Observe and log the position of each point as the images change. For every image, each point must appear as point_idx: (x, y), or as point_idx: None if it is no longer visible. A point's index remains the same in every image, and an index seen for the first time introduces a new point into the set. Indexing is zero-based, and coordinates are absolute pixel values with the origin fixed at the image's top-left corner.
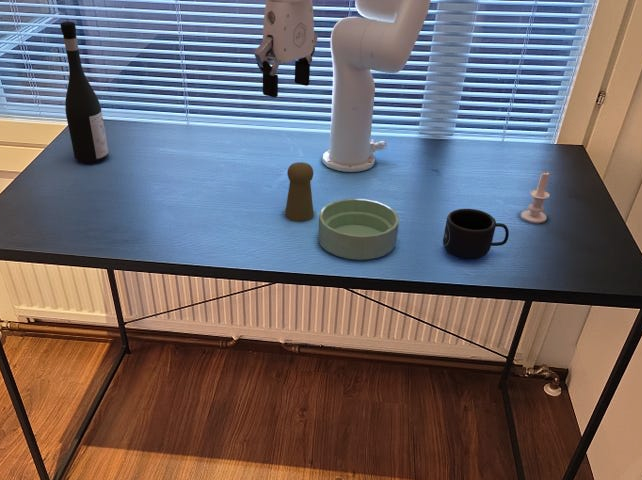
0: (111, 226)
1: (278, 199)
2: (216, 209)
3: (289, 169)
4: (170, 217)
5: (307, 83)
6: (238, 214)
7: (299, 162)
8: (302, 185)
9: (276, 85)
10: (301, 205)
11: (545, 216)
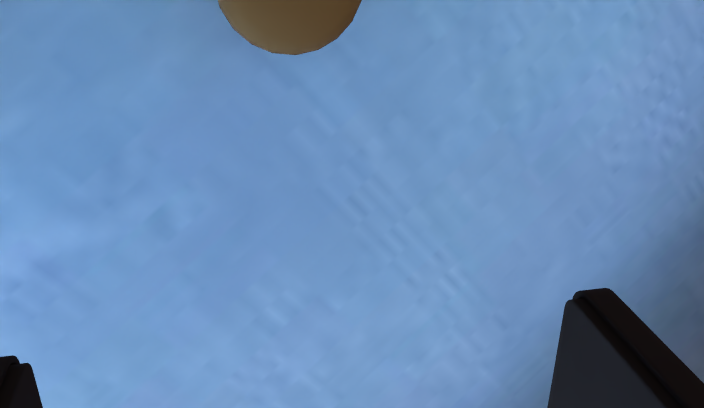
0: (674, 333)
1: (218, 118)
2: (433, 220)
3: (350, 19)
4: (556, 274)
5: (7, 368)
6: (416, 142)
7: (262, 21)
8: None
9: (673, 360)
10: None
11: None
